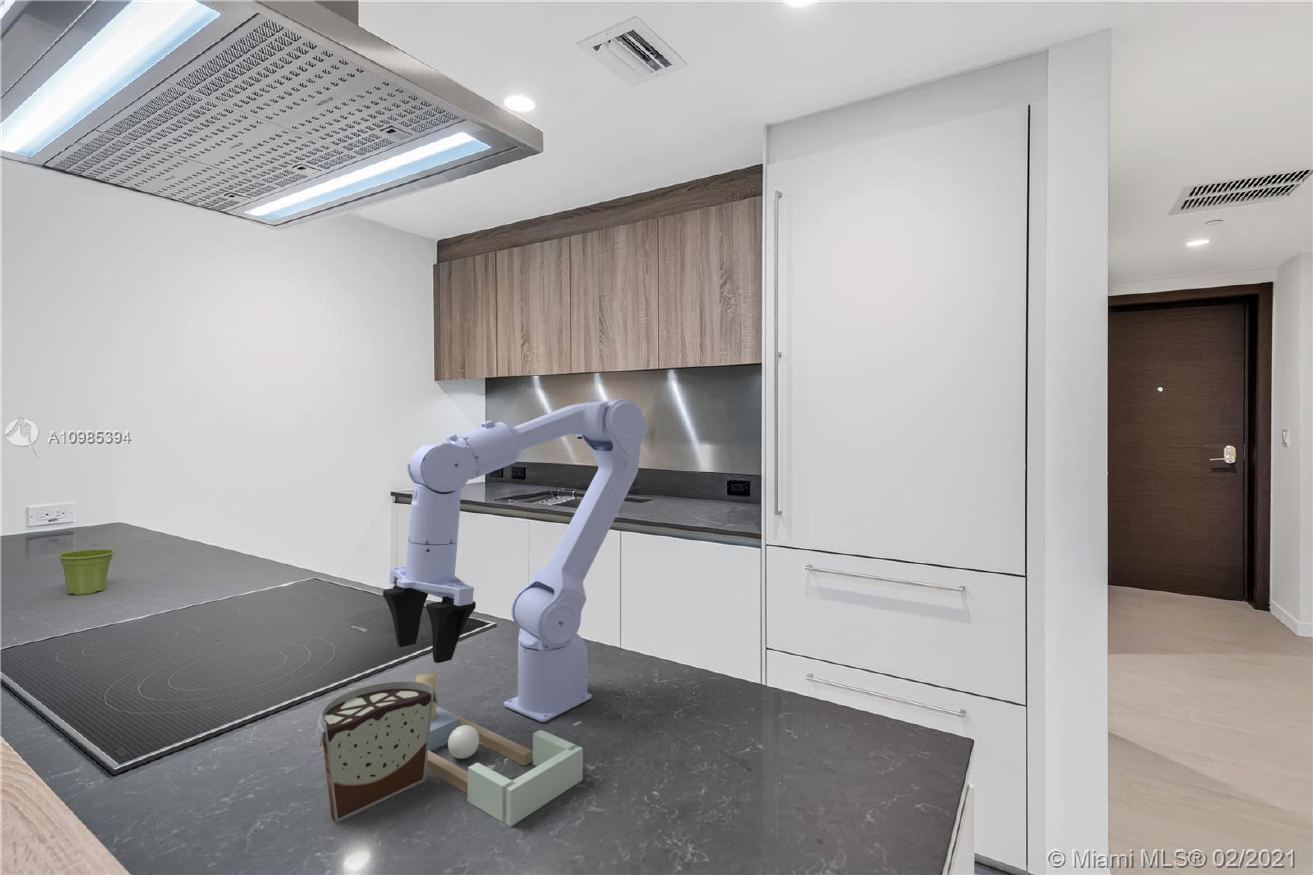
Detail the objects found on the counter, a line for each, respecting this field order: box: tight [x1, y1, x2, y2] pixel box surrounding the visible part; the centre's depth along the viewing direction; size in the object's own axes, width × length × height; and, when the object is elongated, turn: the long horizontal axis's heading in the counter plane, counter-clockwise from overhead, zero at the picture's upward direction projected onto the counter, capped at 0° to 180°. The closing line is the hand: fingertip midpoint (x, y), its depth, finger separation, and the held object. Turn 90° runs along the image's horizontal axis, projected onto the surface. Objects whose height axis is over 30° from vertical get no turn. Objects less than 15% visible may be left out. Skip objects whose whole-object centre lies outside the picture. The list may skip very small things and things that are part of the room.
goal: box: [467, 729, 584, 828], centre depth 65 cm, size 10×7×4 cm, turn 143°
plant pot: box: [57, 548, 116, 596], centre depth 138 cm, size 9×9×9 cm
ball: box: [447, 725, 479, 760], centre depth 72 cm, size 4×4×4 cm
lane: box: [426, 706, 533, 795], centre depth 73 cm, size 8×18×1 cm, turn 54°
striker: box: [415, 671, 461, 752], centre depth 75 cm, size 5×5×8 cm
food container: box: [314, 680, 439, 824], centre depth 65 cm, size 12×6×10 cm, turn 141°
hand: (424, 652), depth 76 cm, fingers open, 7 cm apart
